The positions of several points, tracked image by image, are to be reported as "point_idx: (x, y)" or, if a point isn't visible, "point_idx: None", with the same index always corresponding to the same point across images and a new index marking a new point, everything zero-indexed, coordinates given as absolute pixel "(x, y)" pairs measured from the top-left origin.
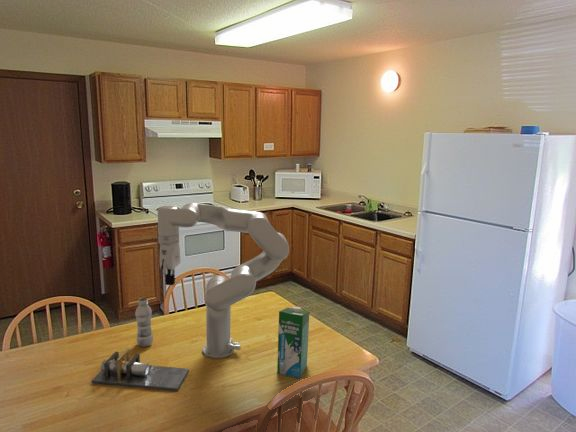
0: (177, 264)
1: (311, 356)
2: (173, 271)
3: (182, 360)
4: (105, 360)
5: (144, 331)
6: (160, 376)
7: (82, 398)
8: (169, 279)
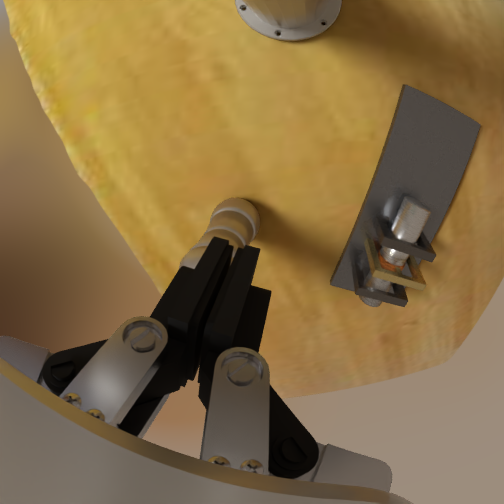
0: (64, 450)
1: None
2: (154, 362)
3: (340, 100)
4: (373, 302)
5: (247, 237)
6: (428, 162)
7: (434, 301)
8: (261, 331)
